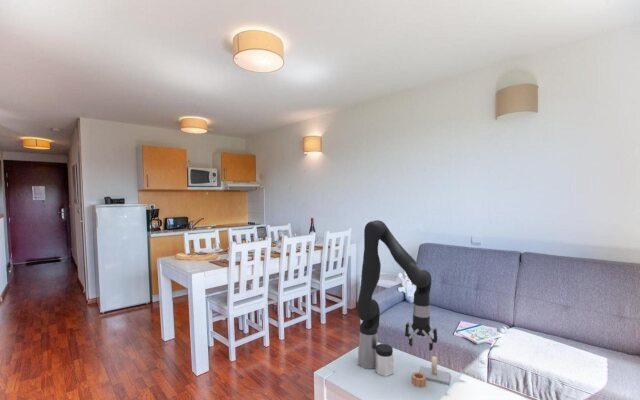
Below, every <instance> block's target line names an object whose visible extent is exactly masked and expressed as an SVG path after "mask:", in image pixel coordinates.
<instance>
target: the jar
mask: <svg viewBox="0 0 640 400" xmlns="http://www.w3.org/2000/svg"><path fill="white" fill-rule="evenodd" d="M393 351H394V350H393V347H392V345H390V344H387V343H386V344H385V343H379V344H378V345H377V346H376V368H375V371H376V373H377V374H378V375H379V376H385V377H389V376H391V375H393V374H394V353H393Z"/></svg>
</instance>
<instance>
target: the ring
mask: <svg viewBox="0 0 640 400" xmlns="http://www.w3.org/2000/svg"><path fill="white" fill-rule="evenodd" d="M426 382H427V380H426V376H425V375H424V374H422V373H419V371H418V372H417V371H416V372H412V375H411V384H412V385H413V387H417V388H425V387H426V385H427V383H426Z"/></svg>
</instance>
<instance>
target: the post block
mask: <svg viewBox="0 0 640 400" xmlns="http://www.w3.org/2000/svg"><path fill="white" fill-rule="evenodd" d="M418 372H419V373H422V374H424V375H425V376H426V381H430V382H435V383H438V384H441V385H442V384H443V385H446V386H450V384H451V383H450V381H451V372H449V371H445V370H440V369H438V358H437V356H435V355H434V356H433V355H432V356H431V368H430V367H425V366H423V365H421V366H419V370H418Z"/></svg>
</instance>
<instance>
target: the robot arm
mask: <svg viewBox="0 0 640 400" xmlns="http://www.w3.org/2000/svg"><path fill="white" fill-rule="evenodd" d="M363 231H364V232H363V233H364V234H363V241H364V242H363V243H364V248H363V254H362V255H363V257H362V265H361V266H362V267H361V277H360V278H361V279H360V289H359V294H358V299H357V303H356V314H357V317H358V319H360V320H361V321H362V322H361V323H360V325H359V345H358V348H357V349H358V351H357V352H358V357H357V358H358V359H357V360H358V361H357V363H358V366H360V367H362V368H364V369H368V370H369V369H370V370H373V369H376V346H377V345H379V344H378V341H379V340H378V337H379V336H378V329H379V327H380V315H381V314H380V313H381V312H380V311H381V310H380V305H379V304H378V302H377V301H376V300H375V299H373V294H374V292H375V289H376V287H377V285H378V284H379V281H380V276H381V266H382V264H381V259H380V256H379V242H380V241H381V242H382V243H383V244H384V245H385V246H386V247H387V250H388V251H389V252H390V255H391V256H392V258H393V259H394V261H395V262H396V263H397V265H399V267H400V268H401V269H402V270H403V271H404V272H405V274H406V276H407V277H408V278H409V280H410V282H411V283H412V284H413V285H414V286H415V291H414V293H413V305H412V323H410V322H409V321H408V322H406V324H405V329H404V330H405V331H404V336H405V337H406V338H408V345H409V346H410V347H413V343H414V340H413V339H414V338H413V337H414V336H420V337H425V338H426V339H427V340H428V341H429V347H428V351H430V352H431V351H433V350H434V349H433V348H434V343H435V344H436V343H437V342H438V328H437V327H431V326H430V325H431V323H430V321H431V320H430V319H431V317H430V316H431V309H430V307H431V306H430V294H431V286H432V275H431V273H430V272H429V271H428V270H427V269H420V268H419V267H418V266H417V261H416V260H415V258H413V257H412V255H410V254H409V252H408V251H407V250H406V249H405V248H404V247H403V246H402V245H401V244H400V243H399V241H398V240H397V239H396V237H395V236H394V234H393V233H392V232H391V231H390V229H389V228H388V226H387V224H386V223H385V222H384V221H382V220H379V219H377V220H372V221H369V222H367V223H366V224H365V226H364V229H363ZM411 329H412V330H413V331H412V332H411V333H410V330H411ZM430 332H431V333H432V334H433V337H432V335H431V333H430Z"/></svg>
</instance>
